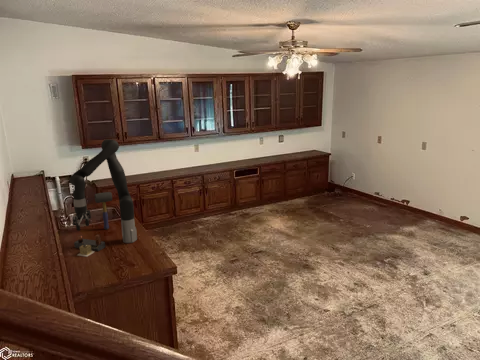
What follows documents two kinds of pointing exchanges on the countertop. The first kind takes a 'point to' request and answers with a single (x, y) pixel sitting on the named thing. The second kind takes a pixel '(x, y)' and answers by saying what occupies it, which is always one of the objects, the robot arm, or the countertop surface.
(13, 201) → the countertop surface
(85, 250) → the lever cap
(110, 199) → the rubber mallet
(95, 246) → the plane body
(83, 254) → the felt mat
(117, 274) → the countertop surface
